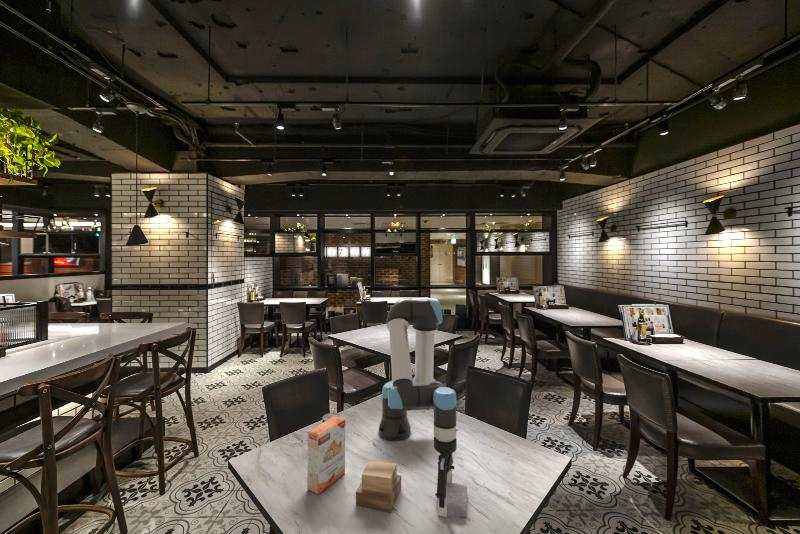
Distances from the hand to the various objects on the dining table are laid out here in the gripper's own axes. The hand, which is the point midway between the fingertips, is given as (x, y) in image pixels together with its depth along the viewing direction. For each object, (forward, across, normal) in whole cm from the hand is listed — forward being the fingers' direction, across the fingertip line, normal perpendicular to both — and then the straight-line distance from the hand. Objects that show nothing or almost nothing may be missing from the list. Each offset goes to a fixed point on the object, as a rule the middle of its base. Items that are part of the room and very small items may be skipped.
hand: (445, 501), depth 108 cm
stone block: (+1, 0, -2) cm, 2 cm away
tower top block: (-4, -4, +22) cm, 23 cm away
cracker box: (0, -2, +43) cm, 43 cm away
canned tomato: (0, +23, +55) cm, 60 cm away
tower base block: (+1, -4, +22) cm, 22 cm away
